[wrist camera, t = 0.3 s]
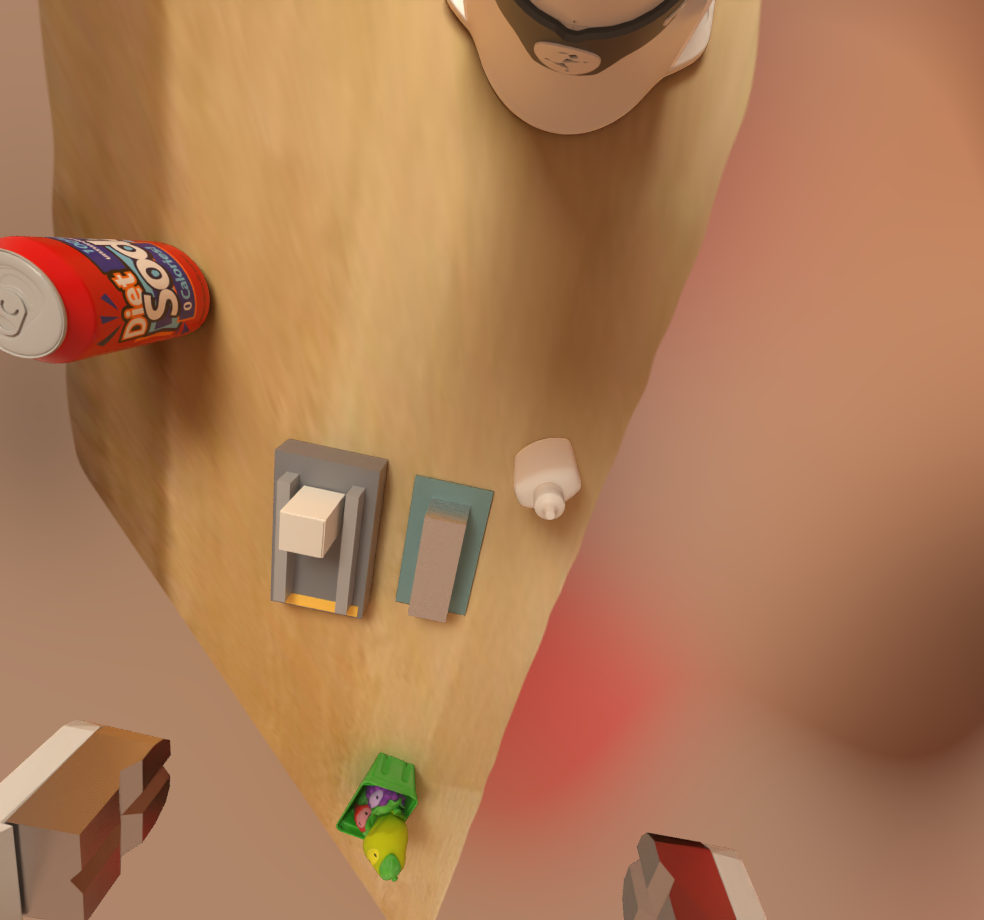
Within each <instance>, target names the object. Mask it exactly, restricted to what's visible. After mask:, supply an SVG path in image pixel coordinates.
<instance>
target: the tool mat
mask: <svg viewBox="0 0 984 920" xmlns="http://www.w3.org/2000/svg"><path fill="white" fill-rule="evenodd" d="M493 493H494V491H490V490H485V489H480V488H476V487H471V486H466V485H462V484H457V483H452V482H447V481H443V480H438V479H433V478H429V477H424V476H419V475H416V477H415V483H414V489H413V495H412V502H411V508H410V514H409V521H408V527H407V533H406V540H405V546H404V552H403V558H402V565H401V571H400V577H399V584H398V590H397V596H396V601H398V602H403V603H407V604H410V599H411V593H412V587H413V582H414V576H415V570H416V564H417V558H418V553H419V547H420V541H421V535H422V530H423V524H424V518H425V515H426V512H427V510H428V507H429V504H430V502H431V499H432V498H437V499H441V500H446V501H451V502H456V503H460V504H465V505H470V510H469V515H468V519H467V524H466V529H465V533H464V538H463V543H462V547H461V552H460V557H459V561H458V566H457V571H456V575H455V580H454V585H453V589H452V594H451V599H450V603H449V608H448V612H451V613H456V614H461V615H465V613H466V608H467V604H468V600H469V596H470V591H471V587H472V583H473V578H474V574H475V570H476V566H477V561H478V557H479V553H480V548H481V544H482V540H483V536H484V531H485V527H486V523H487V518H488V514H489V510H490V506H491V501H492V497H493Z"/></svg>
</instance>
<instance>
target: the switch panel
mask: <svg viewBox="0 0 984 920" xmlns="http://www.w3.org/2000/svg"><path fill="white" fill-rule="evenodd" d="M387 465H388V460H387V459H382V458H378V457H373V456H368V455H364V454H359V453H354V452H350V451H345V450H340V449H335V448H331V447H326V446H321V445H317V444H312V443H307V442H303V441H298V440H293V439H288V440H287V441H286V442H284V443H283V444H282V445H281V446H279V447H278V448H277V449H275V470H274V503H273V536H272V570H271V601H276V602H281V603H286V604H291V605H296V606H300V607H305V608H310V609H315V610H320V611H325V612H330V613H335V614H340V615H344V616H349V617H354V618H359V619H362V617H363V614H364V612H365V610H366V608H367V605H368V603H369V601H370V594H371V586H372V578H373V571H374V563H375V556H376V548H377V540H378V533H379V525H380V518H381V510H382V502H383V495H384V487H385V480H386V472H387ZM303 486H309V487H314V488H319V489H323V490H328V491H333V492H338V493H342V494H345V502H344V512H343V523H342V530H341V531H340V533H339V534H338V536H337V537H336V539H335V540H334V542H333V543H332V545H331V546H330V548H329V549H328V551H327V552H326V554H325V555H324V557H323V558H318V557H313V556H308V555H303V554H299V553H294V552H289V551H284V550H279V528H280V510H281V509H282V508H283V507H284V506H285V505H286V504H287V503H288V502H289V501H290V500H291V499H292V498H293V497H294V496H295V495H296V493H297V492H298V491H299V490H300V489H301V488H302V487H303Z"/></svg>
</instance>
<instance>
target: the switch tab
mask: <svg viewBox="0 0 984 920" xmlns="http://www.w3.org/2000/svg"><path fill="white" fill-rule="evenodd" d="M344 502H345V494H342V493H338V492H333V491H328V490H323V489H319V488H314V487H309V486H303V487H302V488H301V489H300V490H299V491H298V492H297V493H296V495H295V496H294V497H293V498H292V499H291V500H290V501H289V502H288V503H287V504H286V505H285V506H284V507H283V508H282V509H281V510H280V528H279V550H284V551H289V552H294V553H299V554H303V555H308V556H313V557H318V558H323V557H324V555H325V554H326V552H327V551H328V549H329V548H330V546H331V545H332V543H333V542H334V540H335V539H336V537H337V536H338V534H339V533H340V531H341V530H342V523H343V512H344Z"/></svg>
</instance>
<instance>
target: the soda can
mask: <svg viewBox="0 0 984 920" xmlns="http://www.w3.org/2000/svg"><path fill="white" fill-rule="evenodd" d="M209 307H210V295H209V289H208V286H207V283H206V280H205V278H204V276H203V274H202V272H201V271H200V269H199V268H198V266H197V265H196V264H195V263H194V261H193V260H192V259H191V258H190V257H189V256H187V255H186V254H185V253H184V252H182V251H181V250H179V249H178V248H176V247H174V246H171V245H169V244H166V243H162V242H156V241H137V240H111V239H85V238H59V237H33V236H32V237H31V236H9V237H3V238H0V349H1V350H2V351H5V352H7V353H9V354H11V355H14V356H18V357H22V358H32V359H35V360H38V361H41V362H46V363H69V362H74V361H78V360H83V359H87V358H91V357H95V356H100V355H104V354H108V353H112V352H117V351H121V350H125V349H129V348H133V347H138V346H142V345H146V344H150V343H155V342H159V341H163V340H167V339H172V338H176V337H180V336H184V335H187V334H189V333H192V332H194V331H195V330H197V329H198V328H199V327H200V326H201V325H202V324H203V323H204V321H205V319H206V317H207V315H208V312H209Z"/></svg>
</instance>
